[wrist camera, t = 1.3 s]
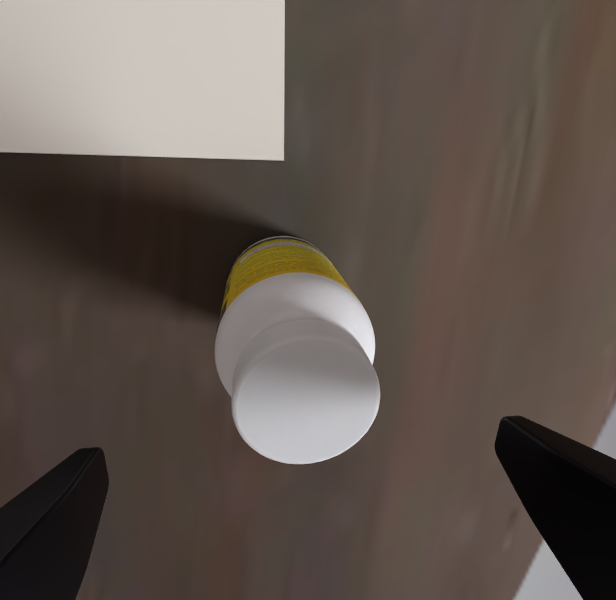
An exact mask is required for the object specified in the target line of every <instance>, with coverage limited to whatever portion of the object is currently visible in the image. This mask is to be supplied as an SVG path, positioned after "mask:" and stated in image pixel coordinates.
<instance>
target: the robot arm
mask: <svg viewBox="0 0 616 600" xmlns="http://www.w3.org/2000/svg"><path fill="white" fill-rule="evenodd" d="M495 452H496V454H497V457H498V459H499V460H500V462H501V464H502V466H503V468H504V470H505V472H506V474H507V475H508V477H509V479H510V481H511V483H512V485H513V487H514V489H515V491H516V492H517V494H518V496H519V498H520V500H521V502H522V504H523V506H524V507H525V509H526V511H527V513H528V514H529V516H530V518H531V519H532V521H533V523H534V524H535V526H536V528H537V529H538V531H539V532H540V534H541V535H542V537H543V538H544V540H545V541H546V543H547V544H548V546H549V548H550V549H551V551H552V552H553V553H554V555H555V557H556V558H557V560H558V561H559V563H560V564H561V566H562V568H563V569H564V571H565V572H566V574H567V575H568V577H569V578H570V580H571V581H572V583H573V585H574V586H575V588H576V589H577V591H578V592H579V594H580V595H581V597H582V598H583V600H616V459H613V458H612V457H609V456H607V455H605V454H603V453H601V452H599V451H596V450H594V449H592V448H590V447H588V446H585V445H583V444H581V443H579V442H577V441H575V440H572V439H570V438H568V437H566V436H564V435H561V434H559V433H557V432H555V431H553V430H550V429H548V428H546V427H544V426H542V425H540V424H537V423H535V422H533V421H531V420H529V419H526V418H524V417H522V416H506V417H503V418H502V419H501V421H500V424H499V428H498V432H497V436H496V441H495ZM108 486H109V478H108V472H107V467H106V462H105V456H104V452H103V450H102V449H101V448H99V447H94V448H82V449H79V450H77V451H76V452H74V453H73V454H72V455H70V456H69V457H68V458H66V459H65V460H64V461H62V462H61V463H60V464H58V465H57V466H56V467H54V468H53V469H52V470H50V471H49V472H48V473H46V474H45V475H44V476H42V477H41V478H40V479H38V480H37V481H36V482H34V483H33V484H32V485H30V486H29V487H28V488H26V489H25V490H24V491H22V492H21V493H20V494H19V495H17V496H16V497H15V498H13V499H12V500H11V501H9V502H8V503H7V504H5V505H4V506H3V507H1V508H0V600H75V599H76V596H77V593H78V591H79V588H80V585H81V583H82V580H83V577H84V574H85V571H86V569H87V565H88V562H89V558H90V555H91V551H92V547H93V544H94V540H95V536H96V532H97V529H98V525H99V521H100V517H101V514H102V510H103V506H104V503H105V499H106V495H107V491H108Z"/></svg>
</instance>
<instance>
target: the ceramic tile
mask: <svg viewBox="0 0 616 600" xmlns="http://www.w3.org/2000/svg"><path fill="white" fill-rule="evenodd" d="M284 31H285V0H0V152H13V153H46V154H80V155H114V156H147V157H181V158H215V159H248V160H284Z"/></svg>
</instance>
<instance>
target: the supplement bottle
mask: <svg viewBox="0 0 616 600" xmlns="http://www.w3.org/2000/svg"><path fill="white" fill-rule="evenodd" d="M374 353H375V338H374V332H373V328H372V325H371V322H370V319H369V317H368V315H367V313H366V311H365V310H364V308H363V306H362V304H361V303H360V301H359V300H358V299H357V297H356V296H355V294H354V293H353V292H352V290H351V289H350V288H349V286H348V285H347V284H346V282H345V281H344V280H343V278H342V277H341V275H340V274H339V273H338V271H337V270H336V269H335V267H334V266H333V265H332V263H331V262H330V261H329V259H328V258H327V257H326V256H325V255H324V254H323V253H322V252H321V251H320V250H319V249H318V248H317V247H316V246H314V245H313V244H311V243H309V242H307V241H305V240H303V239H299V238H296V237H291V236H275V237H269V238H266V239H263V240H261V241H258V242H256V243H254V244H253V245H251V246H250V247H248V248H247V249H246V250H245V251H243V252H242V254H241V255H240V256H239V257H238V258H237V259H236V261H235V262H234V264H233V266H232V268H231V270H230V273H229V276H228V280H227V283H226V289H225V293H224V298H223V304H222V309H221V314H220V318H219V323H218V327H217V332H216V342H215V361H216V367H217V371H218V374H219V377H220V379H221V382H222V384H223V386H224V387H225V389H226V390H227V392H228V393H229V395H230V396H231V397H232V415H233V419H234V422H235V425H236V427H237V430H238V432H239V433H240V435H241V437H242V438H243V439H244V441H245V442H246V443H247V444H248V445H249V446H250V447H251V448H253V449H254V450H255V451H257V452H258V453H260V454H261V455H263V456H265V457H267V458H270V459H272V460H275V461H279V462H283V463H290V464H308V463H315V462H320V461H323V460H327V459H329V458H332V457H334V456H337V455H339V454H341V453H342V452H344V451H346V450H347V449H349V448H350V447H351V446H353V445H354V444H355V443H357V442H358V441H359V440H360V439H361V438H362V437H363V435H364V434H365V433H366V432H367V431H368V429H369V428H370V426H371V425H372V423H373V421H374V419H375V417H376V414H377V411H378V407H379V402H380V386H379V380H378V377H377V374H376V372H375V369H374V367H373V366H372V364H373V360H374Z"/></svg>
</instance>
